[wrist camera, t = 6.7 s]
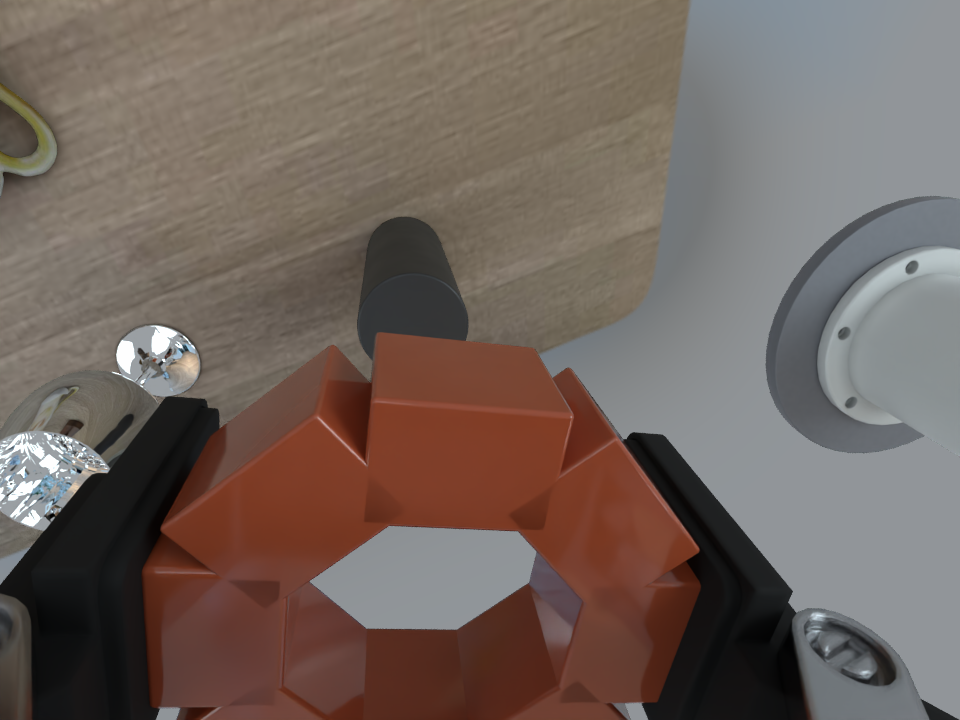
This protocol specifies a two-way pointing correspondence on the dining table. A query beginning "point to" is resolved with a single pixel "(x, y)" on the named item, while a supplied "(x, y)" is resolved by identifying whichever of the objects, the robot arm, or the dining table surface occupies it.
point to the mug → (46, 140)
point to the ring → (416, 503)
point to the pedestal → (409, 286)
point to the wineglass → (87, 422)
